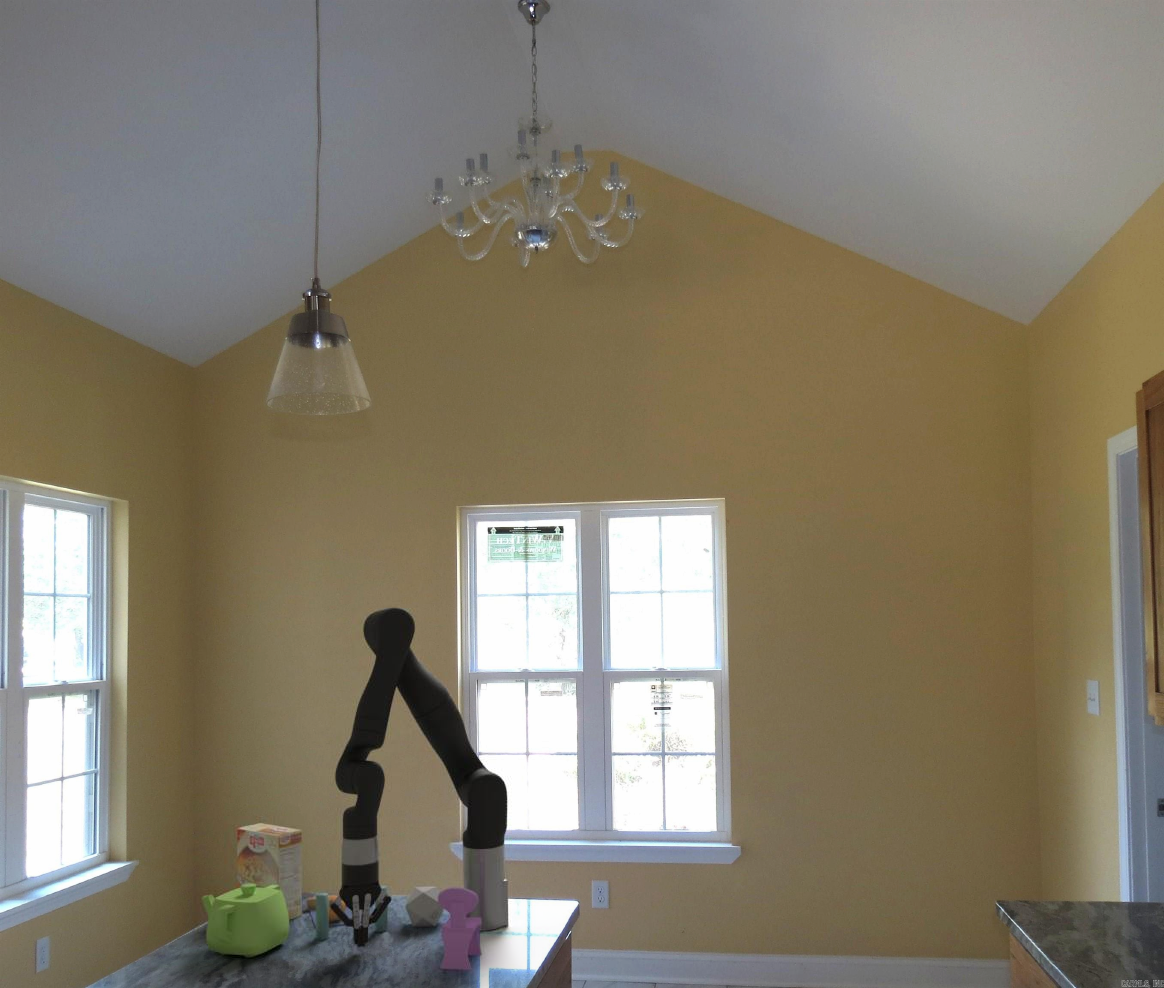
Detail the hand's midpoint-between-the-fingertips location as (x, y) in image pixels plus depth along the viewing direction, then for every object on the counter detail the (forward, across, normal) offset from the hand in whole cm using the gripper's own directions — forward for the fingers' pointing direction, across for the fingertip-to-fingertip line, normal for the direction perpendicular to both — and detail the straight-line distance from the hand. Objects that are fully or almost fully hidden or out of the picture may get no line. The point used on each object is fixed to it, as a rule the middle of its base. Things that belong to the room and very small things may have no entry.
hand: (360, 945), depth 211 cm
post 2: (+2, -6, -13) cm, 15 cm away
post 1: (+2, +6, -13) cm, 15 cm away
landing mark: (+2, 0, -27) cm, 27 cm away
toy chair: (+2, -18, +13) cm, 22 cm away
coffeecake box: (+2, +16, -35) cm, 39 cm away
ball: (-1, +3, -24) cm, 24 cm away
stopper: (+2, 0, -35) cm, 35 cm away
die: (+2, -16, -13) cm, 21 cm away
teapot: (+2, +23, -14) cm, 27 cm away
